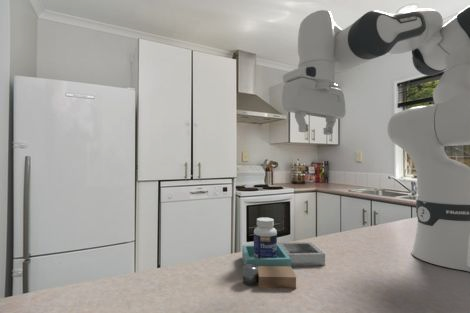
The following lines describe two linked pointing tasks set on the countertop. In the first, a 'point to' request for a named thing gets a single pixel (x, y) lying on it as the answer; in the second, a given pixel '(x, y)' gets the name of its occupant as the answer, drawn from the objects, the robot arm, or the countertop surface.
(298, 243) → the collar
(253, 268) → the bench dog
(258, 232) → the pill bottle
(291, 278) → the tan cardboard-like brick
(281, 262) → the tray
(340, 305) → the countertop surface
